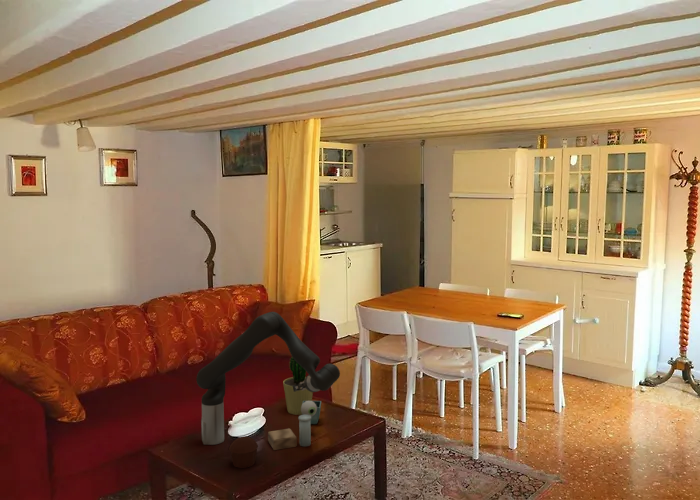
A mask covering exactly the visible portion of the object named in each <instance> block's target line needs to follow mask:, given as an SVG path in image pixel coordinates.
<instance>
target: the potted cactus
mask: <svg viewBox="0 0 700 500" xmlns="http://www.w3.org/2000/svg"><path fill="white" fill-rule="evenodd" d="M288 360H289V365H288V368H289V370H290V372H291V373H290V374H291V375H292V377H288V378H286V379H284V380H283V382H282V383H283V384H282V385H283V390H284V396H285V402H286V403H285V404H286V409H287V412H288V414H291V415H296V416H297V415H298V416H300V415H302V412H301V406H302V403H303V401H313V396H314V395H313V394H314V392H310V391H308V390H307V389H306V390H303V391H302V390H300V391H296V392H294V390H293V387H292V386H293V385H296V384H300V382H303V381H305V378H306V377H307V376H306V375H307V374H308V373H307V372H306V370H305V369H304V368H303V367H301V366H300V365H299V364H298V363H297V362H296V361H295V360H294V359H293V357H292V356H291V357H290V358H289V359H288ZM299 386H300V385H299ZM300 389H301V388H300Z"/></svg>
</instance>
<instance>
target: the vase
mask: <svg viewBox="0 0 700 500" xmlns="http://www.w3.org/2000/svg"><path fill="white" fill-rule="evenodd" d="M298 421H299V423H298V426H299V427H298V429H299V431H298V434H299V446H300V447H310V446H311V444H312V443H311V441H312V439H311V438H312V436H311V434H312V433H311V432H312V430H311V428H312V427H311V425H312V424H311V416H310V415H298Z"/></svg>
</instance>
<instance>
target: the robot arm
mask: <svg viewBox="0 0 700 500" xmlns="http://www.w3.org/2000/svg"><path fill="white" fill-rule="evenodd" d="M275 335H276V336H277V337H279V338H281V340H282V341H284V343H285V344H286V347H287V348H288V350H289V353H290V355H291V358H292V357H293V359H294V360H295V361H296V362H297V363H298V364H299V365H300V366H301V367H303V368H304V369H305V370H306V373H307V374H308V375H307V376H305V377H306V378H305V381H303V382H300V384H296V385H293V386H292V387H293V390H294V392H296V391H300V390H302V391H303V390H306V389H307V390H308V391H310V392H313V393H317V392H320V391H323V392H325V391H328V390H329V389H330V387H332V386H333V385H334V384H335V382H337V381H338V380H339V378H340V375H341V371H340V369H339V367H338V366H337V365H336V364H333V363H326V364H324V365H323V366H322V367H321V368H320V369H319V370H317V368H318V366H319V365H320V362H321V359H320V357H319V356H318V354H316V353H314V351H313V350H311V349H310V348H309V347H308V346H307V345H306V344H305V343H304V342H303V341H302V340H301V339H300V337H299V336H297V334H296V333H295V331H294V330H293V329H292V328H291V327H290V326H289V324H288V323H287V322H286V320H285V319H284V318H283V317H282V316H281V315H280V314H279V313H278V312H276V311H270V312H265V313H263V314H261V315H258V316H257V317H256V318H255V319H253V321H252V322H251V324H250V325H249V326H248V327H247V328H246V329H245V331H244V332H243V333H241V334H240V335H239V336H237V337H236V338H235V339H234V340H232V341H231V342H230V343H229V344H228V345H227V346H226V347H225V348H224V349H223V350H222V351H221V352H220V353H219V354H218V355H217V356H216V357H215V358H214V359H213V360H212V361H210V362H209V363H208V364H206V365H205V366H204V367H202V368H201V369H199V370H198V372H197V375H196V384H197V385H198V387H199V388H201V389H203V390H206V392H205V393H203V395H202V396H201V418H200V419H201V420H200V423H201V425H200V426H201V441H202V444H203V445H209V446H210V445H211V446H214V445H218V444H219V445H220V444H221V443H224V441H225V413H224V411H225V410H224V409H225V407H224V403H225V402H224V400H225V399H224V398H225V395H226V382H227V381H226V373H228V372H230V371H232V370H233V369H235V368H237V367H239V366H240V365H241V364H243V363H245V361H246V360H247V359H248V358H250V356H251V355H252V354H253V351H254V348H255V347H256V346H257V345H259V344H260V343H262V342H263V341H265V340H267V339H269V338H271V337H273V336H275ZM316 370H317V371H316ZM299 385H300V386H299ZM300 388H301V389H300Z"/></svg>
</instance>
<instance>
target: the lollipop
mask: <svg viewBox="0 0 700 500" xmlns="http://www.w3.org/2000/svg"><path fill="white" fill-rule="evenodd" d="M313 401H314V400H312V401H305V402H304V403H303V404H302V406H301V412H302V414H303V415H310V416H311V417H312V416H314V415H315V414H316V411H317V406H316V404H315V403H314V402H313Z"/></svg>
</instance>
